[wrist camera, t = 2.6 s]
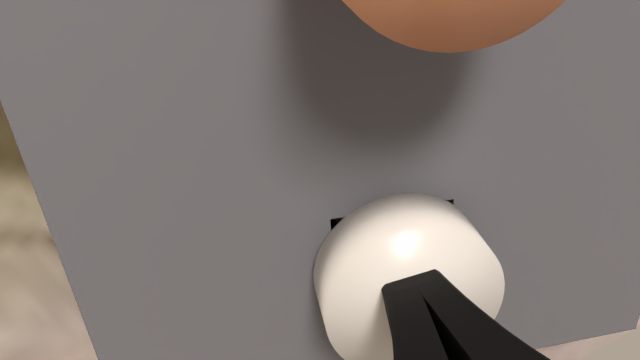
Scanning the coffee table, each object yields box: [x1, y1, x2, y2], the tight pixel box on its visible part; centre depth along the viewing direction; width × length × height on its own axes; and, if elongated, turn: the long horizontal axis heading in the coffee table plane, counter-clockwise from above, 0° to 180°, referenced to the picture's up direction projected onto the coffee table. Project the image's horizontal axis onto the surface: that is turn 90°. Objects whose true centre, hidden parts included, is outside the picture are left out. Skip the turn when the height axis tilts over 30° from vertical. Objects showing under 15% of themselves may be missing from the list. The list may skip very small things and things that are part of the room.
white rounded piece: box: [313, 193, 505, 360], centre depth 15 cm, size 4×4×4 cm
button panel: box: [0, 0, 640, 360], centre depth 14 cm, size 16×18×2 cm
